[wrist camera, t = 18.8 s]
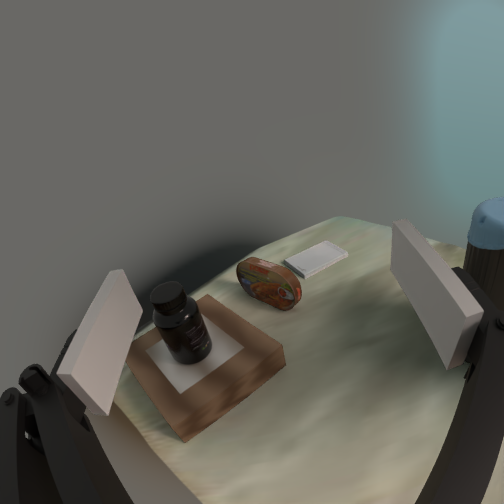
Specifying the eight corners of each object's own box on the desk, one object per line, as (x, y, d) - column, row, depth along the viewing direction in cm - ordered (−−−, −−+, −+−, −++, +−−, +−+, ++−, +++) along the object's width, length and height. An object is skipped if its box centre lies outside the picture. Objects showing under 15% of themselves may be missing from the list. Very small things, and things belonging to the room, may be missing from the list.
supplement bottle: (164, 360, 46) (133, 303, 40) (186, 331, 51) (161, 273, 45) (199, 371, 43) (170, 312, 37) (221, 339, 48) (198, 279, 42)
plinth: (214, 313, 62) (207, 293, 59) (285, 364, 48) (281, 344, 45) (130, 368, 52) (118, 350, 50) (185, 442, 38) (171, 427, 35)
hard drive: (304, 275, 65) (348, 251, 69) (283, 259, 72) (325, 238, 75) (305, 281, 66) (348, 257, 70) (284, 265, 72) (326, 244, 76)
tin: (239, 291, 67) (230, 258, 62) (250, 283, 68) (242, 250, 64) (296, 317, 57) (290, 280, 52) (306, 307, 58) (302, 271, 54)
